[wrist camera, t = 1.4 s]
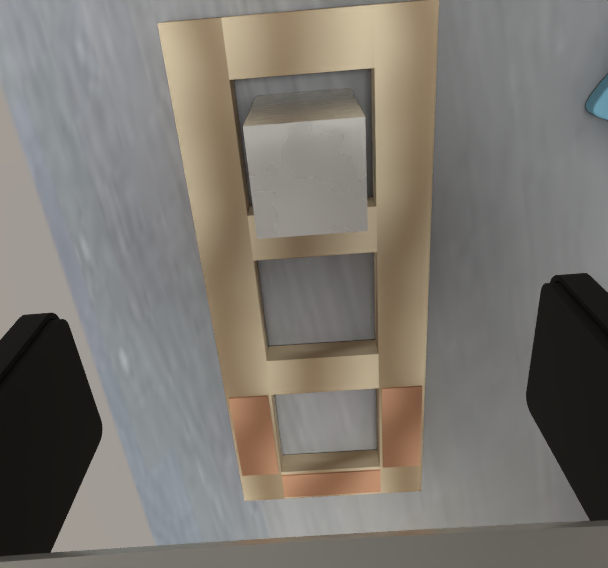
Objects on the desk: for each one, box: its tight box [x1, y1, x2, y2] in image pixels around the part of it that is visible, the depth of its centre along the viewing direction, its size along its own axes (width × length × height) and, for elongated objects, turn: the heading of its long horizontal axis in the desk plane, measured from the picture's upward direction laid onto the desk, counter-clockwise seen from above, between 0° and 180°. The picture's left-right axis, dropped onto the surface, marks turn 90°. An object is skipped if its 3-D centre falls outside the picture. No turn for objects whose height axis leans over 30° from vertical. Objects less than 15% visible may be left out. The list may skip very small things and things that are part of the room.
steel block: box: [243, 88, 368, 239], centre depth 24 cm, size 4×4×7 cm
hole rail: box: [157, 0, 439, 501], centre depth 31 cm, size 12×30×2 cm, turn 4°
